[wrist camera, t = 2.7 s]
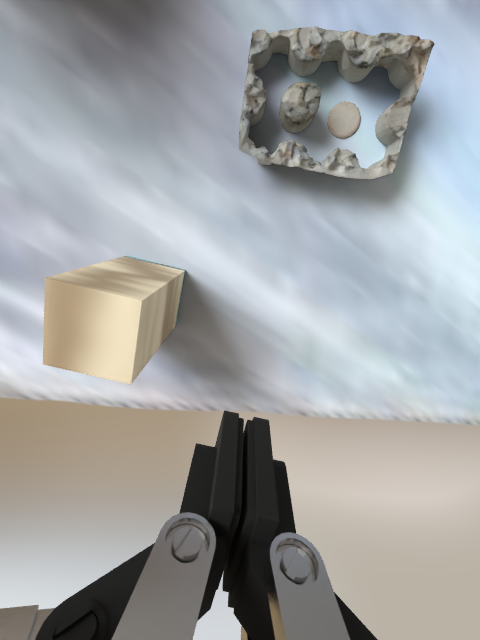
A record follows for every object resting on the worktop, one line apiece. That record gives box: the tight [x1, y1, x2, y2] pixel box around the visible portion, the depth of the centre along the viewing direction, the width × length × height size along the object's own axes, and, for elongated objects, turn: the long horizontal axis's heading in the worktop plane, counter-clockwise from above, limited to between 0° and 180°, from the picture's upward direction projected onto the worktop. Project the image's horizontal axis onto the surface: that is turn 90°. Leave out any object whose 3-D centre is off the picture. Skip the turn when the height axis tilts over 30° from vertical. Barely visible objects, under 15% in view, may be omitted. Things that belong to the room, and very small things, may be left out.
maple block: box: [43, 256, 185, 384], centre depth 21 cm, size 5×5×10 cm
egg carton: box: [239, 27, 434, 179], centre depth 19 cm, size 11×8×4 cm
